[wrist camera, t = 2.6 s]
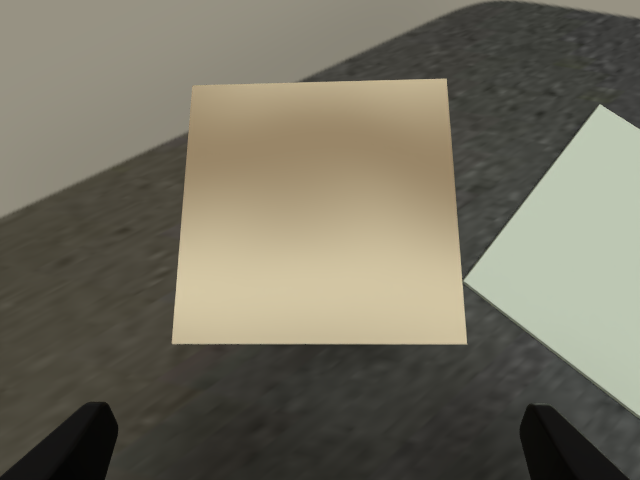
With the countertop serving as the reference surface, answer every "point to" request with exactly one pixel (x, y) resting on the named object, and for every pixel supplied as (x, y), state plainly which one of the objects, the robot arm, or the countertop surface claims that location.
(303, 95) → the birch block
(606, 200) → the sage mat
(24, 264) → the countertop surface
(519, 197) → the countertop surface
